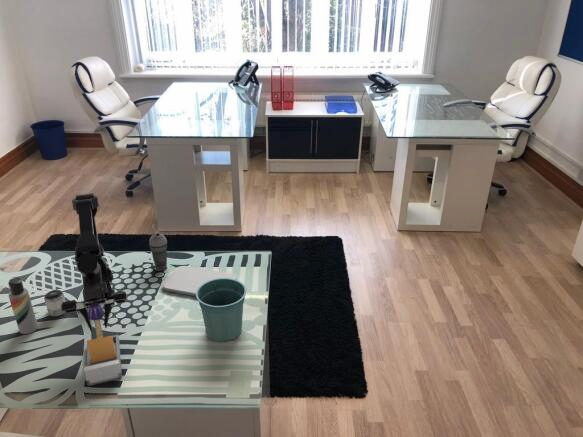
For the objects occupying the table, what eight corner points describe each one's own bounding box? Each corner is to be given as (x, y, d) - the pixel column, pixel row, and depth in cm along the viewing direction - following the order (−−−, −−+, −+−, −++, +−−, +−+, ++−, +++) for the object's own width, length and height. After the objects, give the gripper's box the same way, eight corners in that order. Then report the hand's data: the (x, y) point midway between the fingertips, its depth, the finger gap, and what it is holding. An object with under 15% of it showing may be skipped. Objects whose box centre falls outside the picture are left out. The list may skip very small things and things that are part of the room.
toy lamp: (108, 340, 155) (99, 298, 147) (112, 348, 151) (103, 306, 144) (93, 345, 152) (83, 303, 144) (97, 354, 149) (87, 312, 141)
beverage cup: (165, 273, 194) (160, 229, 185) (149, 271, 195) (142, 227, 186) (173, 263, 200) (168, 221, 191) (157, 261, 201) (151, 219, 192)
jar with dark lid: (68, 313, 170) (64, 295, 166) (49, 319, 167) (44, 300, 164) (65, 304, 175) (61, 286, 171) (47, 309, 172) (42, 291, 168)
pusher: (91, 360, 148) (86, 340, 144) (115, 355, 150) (112, 335, 147) (91, 363, 147) (86, 343, 143) (116, 357, 149) (112, 337, 146)
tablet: (223, 303, 177) (222, 298, 176) (159, 291, 183) (159, 286, 182) (238, 279, 191) (238, 274, 190) (179, 269, 197) (178, 264, 196)
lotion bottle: (23, 323, 165) (9, 275, 155) (40, 323, 165) (27, 274, 156) (16, 334, 159) (1, 285, 150) (34, 334, 160) (19, 284, 151)
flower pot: (190, 326, 165) (187, 288, 157) (231, 309, 174) (230, 272, 166) (214, 353, 153) (211, 313, 146) (257, 333, 162) (256, 294, 155)
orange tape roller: (88, 346, 155) (84, 331, 152) (119, 339, 158) (116, 325, 155) (87, 386, 140) (83, 371, 137) (121, 378, 143) (119, 363, 140)
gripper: (55, 280, 141) (60, 333, 137) (121, 269, 146) (129, 320, 142) (62, 287, 151) (67, 337, 147) (124, 276, 157) (130, 324, 153)
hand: (98, 329), depth 147 cm, fingers closed on toy lamp, 4 cm apart
